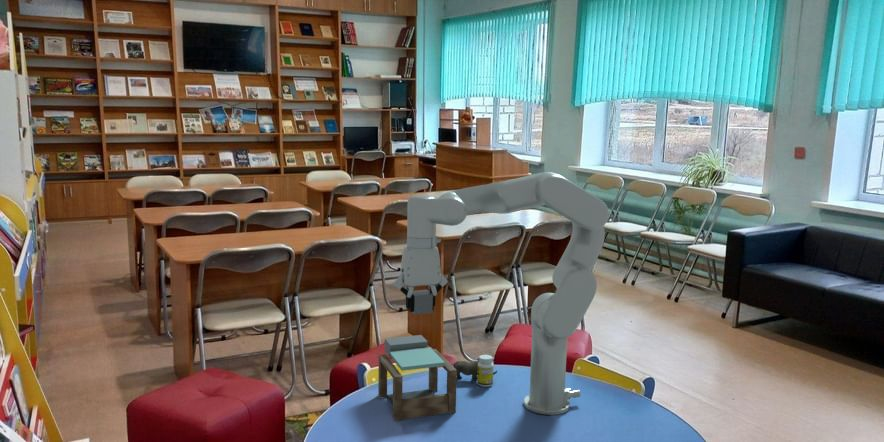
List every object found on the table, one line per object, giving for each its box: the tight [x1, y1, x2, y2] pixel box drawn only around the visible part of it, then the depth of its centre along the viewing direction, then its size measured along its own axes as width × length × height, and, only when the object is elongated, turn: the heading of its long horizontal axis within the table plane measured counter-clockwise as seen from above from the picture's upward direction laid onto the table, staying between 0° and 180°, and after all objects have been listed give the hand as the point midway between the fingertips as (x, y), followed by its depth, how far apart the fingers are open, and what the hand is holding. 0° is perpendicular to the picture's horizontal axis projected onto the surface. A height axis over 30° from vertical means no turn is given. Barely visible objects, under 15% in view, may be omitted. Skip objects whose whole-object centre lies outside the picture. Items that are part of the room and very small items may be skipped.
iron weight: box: [411, 289, 434, 315], centre depth 182 cm, size 5×5×5 cm
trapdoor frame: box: [377, 348, 457, 422], centre depth 188 cm, size 17×17×12 cm
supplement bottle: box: [476, 354, 495, 388], centre depth 203 cm, size 5×5×8 cm
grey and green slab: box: [384, 334, 445, 372], centre depth 191 cm, size 12×19×4 cm, turn 20°
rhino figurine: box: [452, 360, 498, 383], centre depth 206 cm, size 4×14×6 cm, turn 89°
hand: (420, 309), depth 182 cm, fingers closed on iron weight, 5 cm apart
